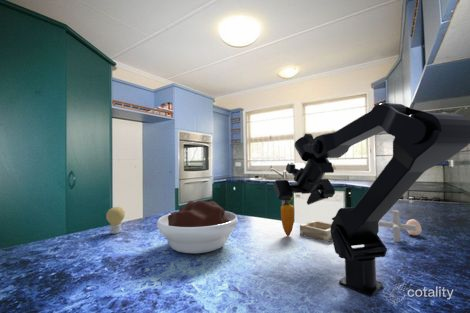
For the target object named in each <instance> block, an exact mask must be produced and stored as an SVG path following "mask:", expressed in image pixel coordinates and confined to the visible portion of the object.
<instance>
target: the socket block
mask: <svg viewBox="0 0 470 313" xmlns="http://www.w3.org/2000/svg"><path fill="white" fill-rule="evenodd" d="M331 224H332V223H329V222H324V221H320V220H312V221H309V222H306V223H302V224H300V225H299V235H300V236H303V237H307V238H311V239H315V240H318V241H321V242H325V243H329V242H330V241H333V240H332V236H331V232H330V231H331Z"/></svg>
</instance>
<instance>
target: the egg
mask: <svg viewBox="0 0 470 313" xmlns="http://www.w3.org/2000/svg"><path fill="white" fill-rule="evenodd" d="M405 224H410V225H416V231H412V230H406V232H408V234H410V235H411V236H418V235H419V234H421V233H422V226H421V224H420V222H419V221H418V220H416V219H414V218H412V219H409V220H407V221H406V223H405Z"/></svg>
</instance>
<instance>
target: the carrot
mask: <svg viewBox="0 0 470 313" xmlns="http://www.w3.org/2000/svg"><path fill="white" fill-rule="evenodd" d="M294 199H295V198H294V197H293V196H292V198H291V200H290V201H289V202H288V203H287V204H286V205H285V206H283V205H282V204H281V205H280V220H281V224H282V228H283V232H284V234H285V235H286V236H287V237H289V236H290V235H291V233H292V231H293V228H294V224H295V223H294V222H295V206H294V205H292V204H291V201H293V200H294Z"/></svg>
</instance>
